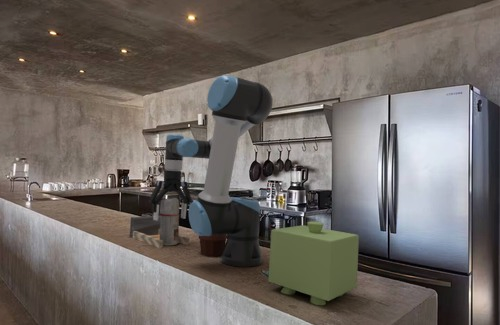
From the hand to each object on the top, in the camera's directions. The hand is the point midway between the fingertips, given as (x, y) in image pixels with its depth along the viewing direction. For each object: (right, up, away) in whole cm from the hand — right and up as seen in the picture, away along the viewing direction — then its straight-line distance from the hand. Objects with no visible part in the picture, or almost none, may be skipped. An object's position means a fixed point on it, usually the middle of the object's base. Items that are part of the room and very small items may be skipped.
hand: (169, 219), depth 148 cm
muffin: (+20, -12, -13) cm, 26 cm away
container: (+52, -13, -51) cm, 74 cm away
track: (-6, -11, +5) cm, 13 cm away
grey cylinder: (0, -11, 0) cm, 11 cm away
